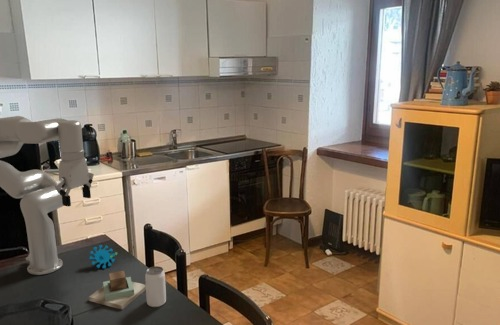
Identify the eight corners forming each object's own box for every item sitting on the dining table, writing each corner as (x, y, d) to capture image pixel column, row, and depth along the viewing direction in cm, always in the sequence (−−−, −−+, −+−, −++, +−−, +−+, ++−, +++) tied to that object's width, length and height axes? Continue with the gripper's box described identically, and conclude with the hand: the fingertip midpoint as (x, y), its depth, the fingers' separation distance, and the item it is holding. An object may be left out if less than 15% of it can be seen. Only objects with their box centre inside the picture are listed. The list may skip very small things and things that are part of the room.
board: (88, 300, 142) (88, 296, 141) (116, 281, 154) (115, 277, 154) (122, 309, 137) (121, 305, 136) (147, 288, 149) (147, 285, 149)
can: (145, 299, 143) (143, 267, 140) (164, 295, 145) (162, 264, 142) (148, 309, 137) (146, 276, 134) (168, 305, 139) (166, 272, 136)
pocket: (105, 300, 139) (105, 295, 138) (103, 286, 147) (102, 281, 147) (134, 294, 143) (134, 289, 142) (130, 281, 151) (130, 276, 151)
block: (111, 295, 142) (110, 280, 140) (110, 288, 146) (109, 273, 145) (126, 292, 144) (125, 277, 142) (124, 285, 148) (123, 270, 147)
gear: (91, 269, 160) (88, 245, 164) (88, 274, 164) (85, 251, 168) (120, 265, 166) (116, 242, 171) (116, 270, 170) (112, 248, 175)
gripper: (82, 150, 155) (86, 193, 159) (44, 160, 139) (50, 207, 143) (98, 151, 152) (102, 195, 156) (61, 162, 137) (66, 210, 141)
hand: (77, 201), depth 150 cm, fingers open, 9 cm apart
